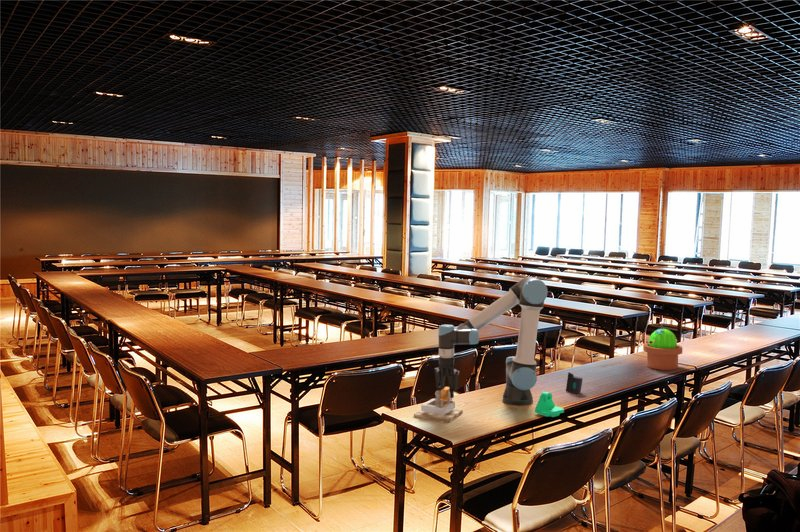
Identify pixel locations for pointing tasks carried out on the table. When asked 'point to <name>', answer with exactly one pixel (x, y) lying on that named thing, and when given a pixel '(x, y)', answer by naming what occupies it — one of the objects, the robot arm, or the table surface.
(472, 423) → the table surface
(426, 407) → the square frame with handle
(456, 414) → the board
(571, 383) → the speaker
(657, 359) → the potted cactus
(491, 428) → the table surface
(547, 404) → the camera mount
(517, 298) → the robot arm
